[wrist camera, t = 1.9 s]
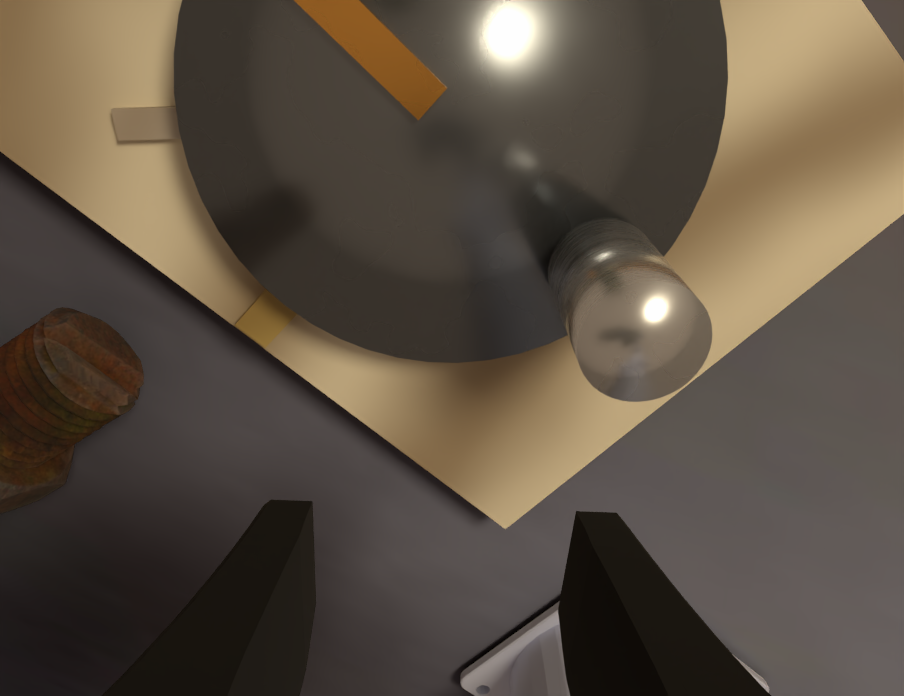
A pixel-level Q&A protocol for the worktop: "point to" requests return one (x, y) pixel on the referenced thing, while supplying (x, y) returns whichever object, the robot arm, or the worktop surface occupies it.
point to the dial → (464, 170)
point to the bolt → (58, 398)
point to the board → (512, 377)
